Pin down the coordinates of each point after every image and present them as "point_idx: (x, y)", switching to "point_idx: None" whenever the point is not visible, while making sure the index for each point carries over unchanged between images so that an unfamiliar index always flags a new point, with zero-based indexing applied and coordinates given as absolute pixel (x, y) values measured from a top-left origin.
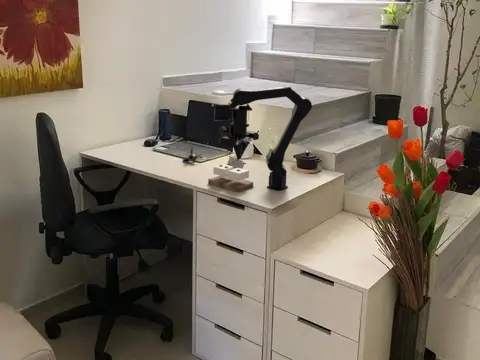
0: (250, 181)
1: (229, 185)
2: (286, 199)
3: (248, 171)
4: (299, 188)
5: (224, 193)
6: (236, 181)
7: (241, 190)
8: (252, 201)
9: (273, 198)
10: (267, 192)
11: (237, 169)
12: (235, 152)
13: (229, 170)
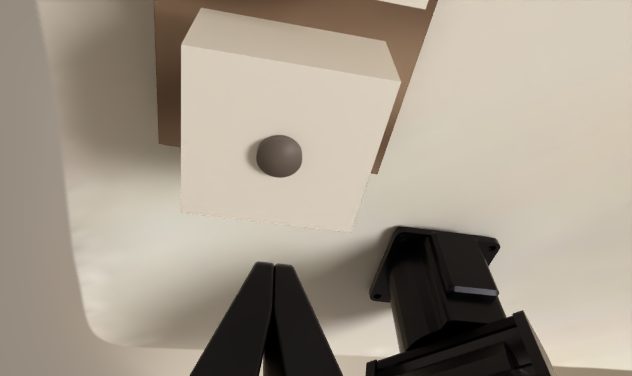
0: (382, 148)
1: (155, 46)
2: None
3: (342, 225)
4: None
5: (52, 42)
6: None
7: None
8: (94, 263)
9: None
10: (306, 259)
11: (286, 141)
12: (193, 372)
13: (201, 57)
